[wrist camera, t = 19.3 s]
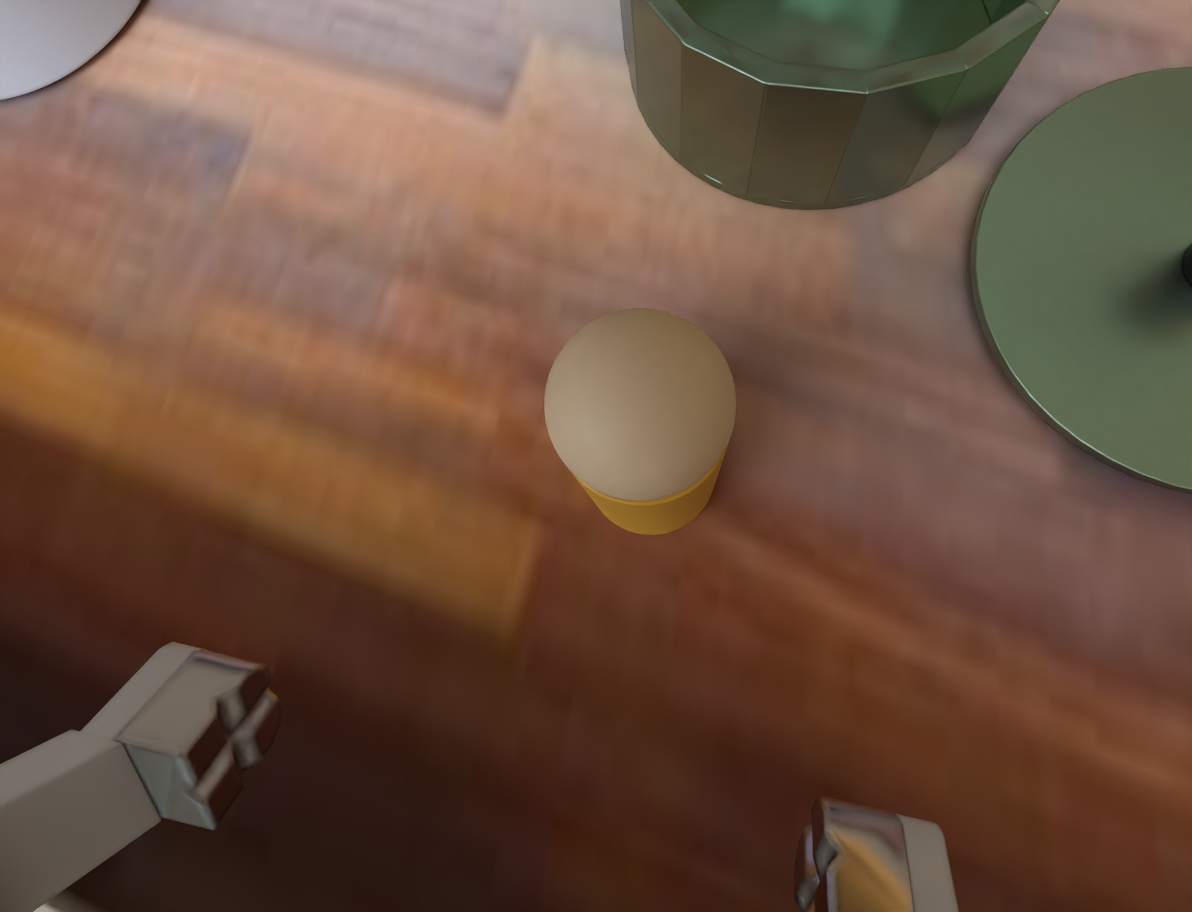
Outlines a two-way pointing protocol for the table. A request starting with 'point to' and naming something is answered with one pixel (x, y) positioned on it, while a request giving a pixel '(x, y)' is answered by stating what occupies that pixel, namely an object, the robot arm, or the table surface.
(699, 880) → the table surface
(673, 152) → the pot
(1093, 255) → the lid
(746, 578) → the table surface
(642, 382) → the toy
